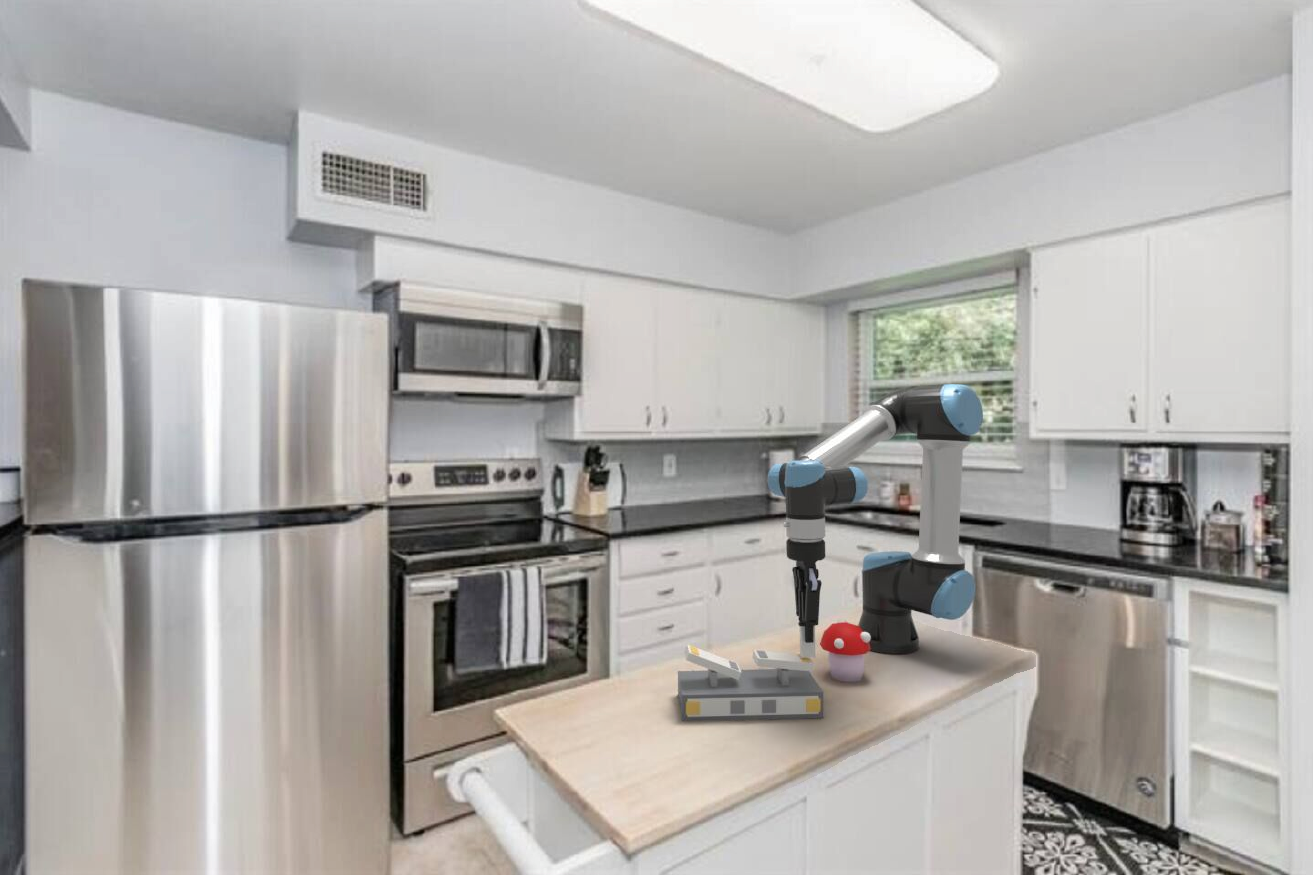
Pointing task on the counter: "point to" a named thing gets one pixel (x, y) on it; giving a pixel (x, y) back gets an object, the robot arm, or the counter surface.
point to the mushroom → (845, 650)
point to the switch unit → (749, 695)
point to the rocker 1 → (712, 662)
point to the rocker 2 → (782, 660)
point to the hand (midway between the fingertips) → (807, 656)
